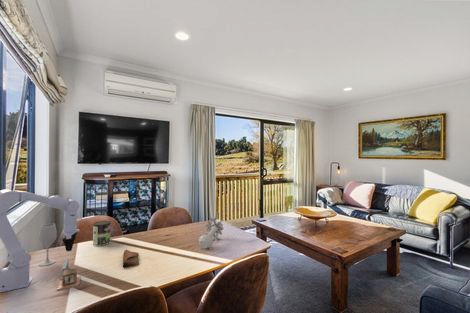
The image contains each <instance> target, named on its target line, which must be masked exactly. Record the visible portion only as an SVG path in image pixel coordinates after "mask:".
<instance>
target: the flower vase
mask: <svg viewBox="0 0 470 313" xmlns="http://www.w3.org/2000/svg"><path fill="white" fill-rule="evenodd" d="M217 220H218V216H214V218H210V219H209V220H207V224H205V228H206V232H208V234H202V235H200V236H199V238H198V244H199V247H200V248H201V249H204V250H205V249H209V248H211V247H212V245H213V241H214V242H218V241H219V240H220V241H221V240H222V238H219V235H222V234H223V232H222V231H223V230H224V227H223V226H224V224H223V223H222V219H220V220H219V221H218V222H217ZM212 223H213V224H212Z"/></svg>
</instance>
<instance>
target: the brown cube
mask: <svg viewBox="0 0 470 313" xmlns="http://www.w3.org/2000/svg"><path fill="white" fill-rule="evenodd" d="M77 277H78V268H77V267H75V268H70V269H69V270H64V272H63V277H61V278H62V286H67V285H71V284H75V283H76V280H77Z"/></svg>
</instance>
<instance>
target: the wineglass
mask: <svg viewBox="0 0 470 313" xmlns="http://www.w3.org/2000/svg"><path fill="white" fill-rule="evenodd" d="M39 228H40V229H39V233H38V241H39V243H40V244H41V245H43V246H45V247H46V260H44V261H40V262H39V263H38V266H39V267H45V266H46V265H47V266H51V265H53V264H55V263H56V259H49V248H50V246H51V245H52V244H53V243H54V242H55V241H56V239H57V235H58V232H57V227H56V223H55V222H53V223H51V222H50V223H45V224H42V225H40V227H39Z"/></svg>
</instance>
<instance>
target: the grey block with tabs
mask: <svg viewBox="0 0 470 313" xmlns="http://www.w3.org/2000/svg"><path fill="white" fill-rule="evenodd" d="M69 269H71V267H70V266H69V258H65V260H64V263H63V266H62V272H61V274H62V277H63V272H64V270H69ZM62 277H60V278H59V281H61V280H62Z"/></svg>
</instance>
